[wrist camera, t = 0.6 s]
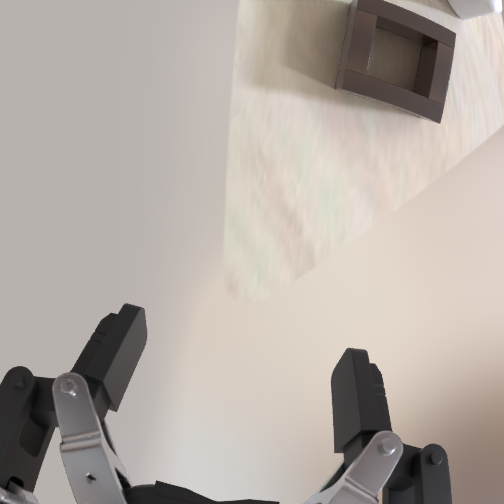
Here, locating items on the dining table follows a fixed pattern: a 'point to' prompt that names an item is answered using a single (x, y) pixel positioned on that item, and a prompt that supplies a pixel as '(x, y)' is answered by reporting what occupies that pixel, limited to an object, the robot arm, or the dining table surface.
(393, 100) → the holder
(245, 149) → the dining table surface
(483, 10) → the eye dropper bottle
